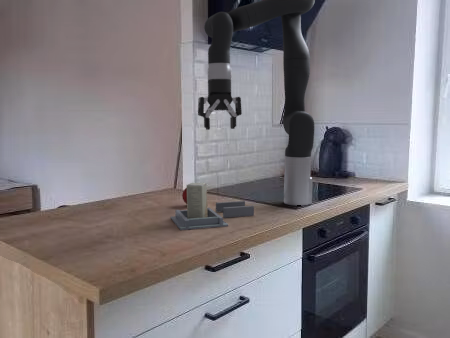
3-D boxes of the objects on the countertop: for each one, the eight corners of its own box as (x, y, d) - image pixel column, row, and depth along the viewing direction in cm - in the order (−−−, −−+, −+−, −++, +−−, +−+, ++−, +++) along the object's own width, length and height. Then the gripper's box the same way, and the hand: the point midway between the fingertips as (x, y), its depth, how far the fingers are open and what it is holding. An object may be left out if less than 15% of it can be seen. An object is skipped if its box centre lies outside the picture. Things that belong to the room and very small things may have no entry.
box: (208, 219, 124) (208, 183, 123) (202, 222, 120) (202, 185, 119) (191, 217, 126) (191, 182, 124) (186, 221, 122) (186, 184, 120)
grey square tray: (213, 214, 132) (213, 206, 131) (228, 226, 118) (228, 217, 118) (170, 218, 127) (170, 209, 127) (180, 230, 114) (180, 220, 114)
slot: (243, 209, 140) (243, 200, 139) (253, 215, 131) (253, 206, 131) (215, 211, 136) (215, 202, 136) (224, 217, 128) (224, 208, 128)
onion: (196, 208, 141) (196, 185, 140) (180, 207, 142) (180, 184, 141) (200, 204, 147) (200, 182, 146) (185, 203, 148) (185, 182, 147)
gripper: (235, 79, 138) (236, 128, 140) (194, 79, 133) (196, 129, 135) (244, 77, 131) (244, 129, 133) (201, 77, 126) (202, 130, 128)
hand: (220, 129), depth 134 cm, fingers open, 8 cm apart
